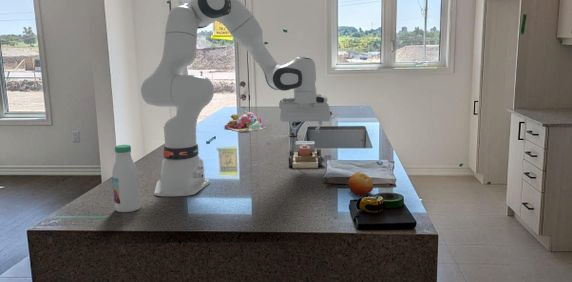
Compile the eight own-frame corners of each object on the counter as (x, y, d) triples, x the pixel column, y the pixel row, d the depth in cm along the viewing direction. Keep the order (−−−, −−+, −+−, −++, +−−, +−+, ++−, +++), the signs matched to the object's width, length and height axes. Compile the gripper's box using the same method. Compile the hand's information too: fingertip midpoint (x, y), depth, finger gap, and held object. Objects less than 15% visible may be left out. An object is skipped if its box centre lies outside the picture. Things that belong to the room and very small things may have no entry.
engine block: (309, 160, 207) (309, 146, 206) (299, 160, 207) (299, 146, 206) (309, 157, 212) (309, 143, 211) (300, 157, 212) (299, 144, 211)
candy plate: (217, 128, 300) (216, 112, 298) (248, 123, 316) (247, 108, 314) (243, 133, 282) (243, 116, 280) (275, 127, 298) (275, 111, 296)
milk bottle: (143, 204, 163) (138, 142, 159) (137, 212, 155) (132, 148, 151) (119, 205, 163) (113, 143, 159) (112, 213, 155) (105, 148, 151)
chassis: (322, 167, 203) (321, 150, 201) (288, 168, 203) (288, 151, 202) (320, 156, 222) (320, 140, 221) (290, 156, 223) (289, 141, 222)
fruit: (351, 184, 175) (362, 166, 171) (369, 199, 171) (380, 181, 167) (338, 190, 168) (349, 171, 164) (356, 205, 165) (367, 187, 161)
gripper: (278, 99, 201) (279, 134, 204) (330, 98, 200) (330, 133, 202) (279, 97, 207) (280, 131, 210) (330, 97, 206) (330, 131, 209)
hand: (305, 132), depth 206 cm, fingers open, 8 cm apart
